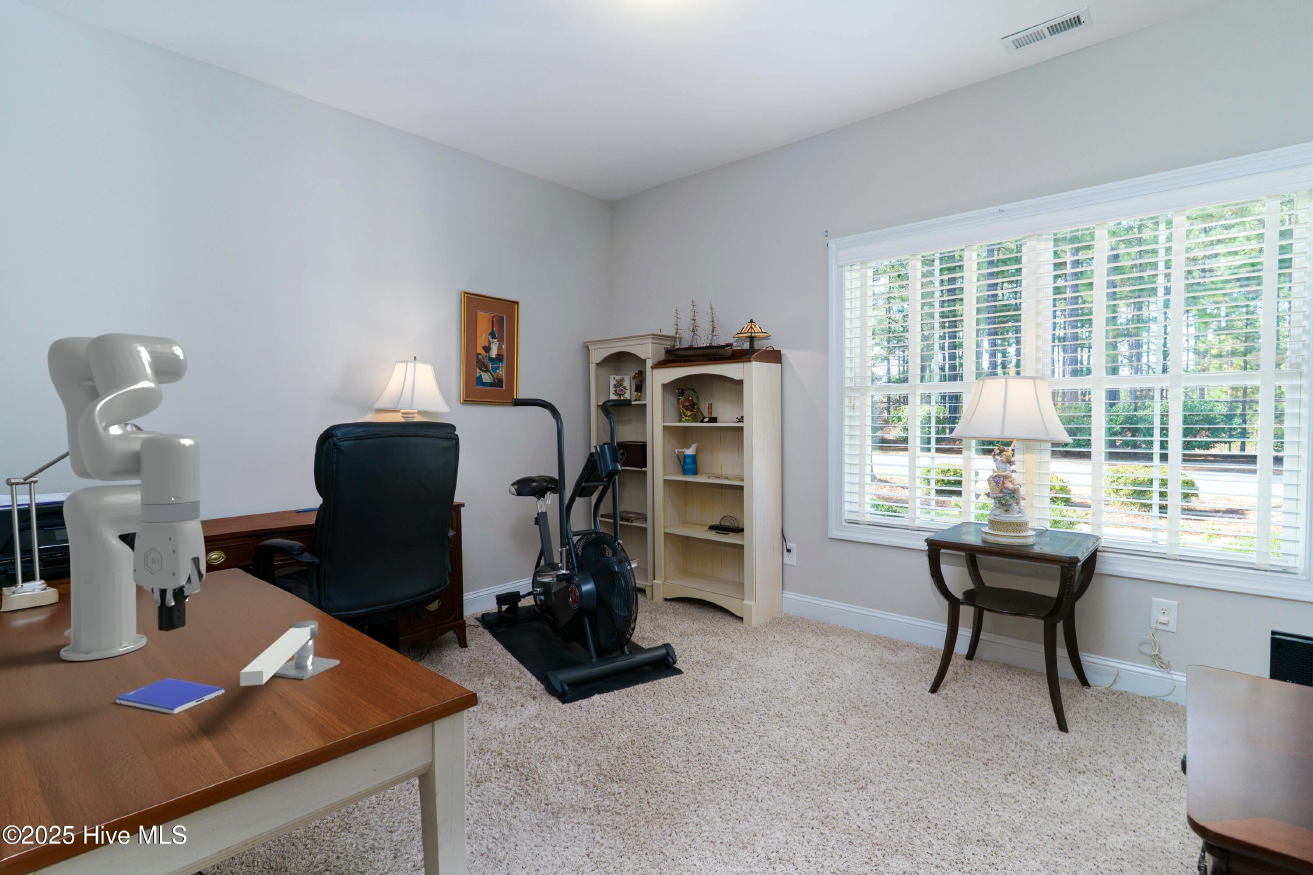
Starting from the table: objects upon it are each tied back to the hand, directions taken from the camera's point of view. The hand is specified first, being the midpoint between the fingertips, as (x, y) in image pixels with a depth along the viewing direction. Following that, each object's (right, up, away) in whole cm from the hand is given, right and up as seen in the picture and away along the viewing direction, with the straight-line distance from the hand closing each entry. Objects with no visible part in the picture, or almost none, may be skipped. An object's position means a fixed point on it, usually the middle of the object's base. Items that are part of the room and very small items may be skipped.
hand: (171, 628), depth 103 cm
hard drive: (0, -12, 0) cm, 12 cm away
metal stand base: (+14, -11, +13) cm, 22 cm away
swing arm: (+16, -5, +3) cm, 17 cm away
